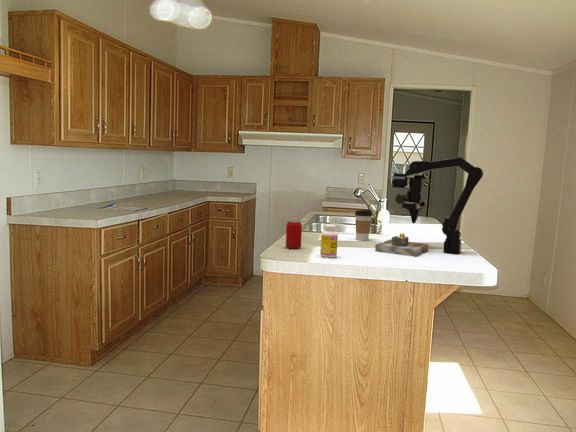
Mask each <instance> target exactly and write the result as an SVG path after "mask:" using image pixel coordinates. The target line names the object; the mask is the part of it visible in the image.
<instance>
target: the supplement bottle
mask: <svg viewBox="0 0 576 432" xmlns="http://www.w3.org/2000/svg"><path fill="white" fill-rule="evenodd" d="M323 225H324V226H323V228H324V230H323V231H321V235H320V254H319V255H320V257H322V258H328V259H333V258H334V259H335V258H336V257H337V256H338V240H339V239H338V238H339V237H338V236H339V233H338V232H337V231H336V229H337V226H336V224H328V223H327V224H323Z"/></svg>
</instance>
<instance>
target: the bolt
mask: <svg viewBox="0 0 576 432" xmlns="http://www.w3.org/2000/svg"><path fill="white" fill-rule="evenodd" d="M406 237H407V236H406V235H405V233H404V232H403V233H402V232H400V233H399V236H398V237H397V238H406Z"/></svg>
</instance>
